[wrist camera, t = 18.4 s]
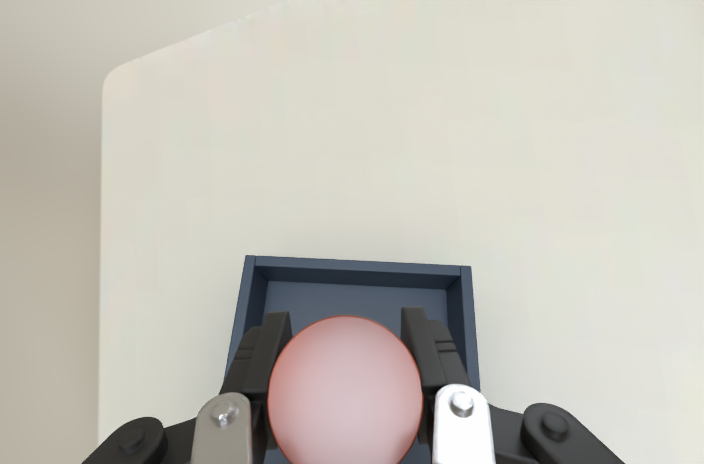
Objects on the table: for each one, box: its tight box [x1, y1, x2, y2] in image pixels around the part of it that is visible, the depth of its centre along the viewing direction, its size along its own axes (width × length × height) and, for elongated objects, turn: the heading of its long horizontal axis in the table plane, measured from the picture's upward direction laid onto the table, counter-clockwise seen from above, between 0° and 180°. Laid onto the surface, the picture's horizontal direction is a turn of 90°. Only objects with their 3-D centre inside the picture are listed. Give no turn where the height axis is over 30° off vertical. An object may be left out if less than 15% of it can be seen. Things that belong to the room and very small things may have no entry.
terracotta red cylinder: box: [267, 315, 424, 464], centre depth 13 cm, size 4×4×9 cm
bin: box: [223, 255, 481, 464], centre depth 25 cm, size 17×17×5 cm
